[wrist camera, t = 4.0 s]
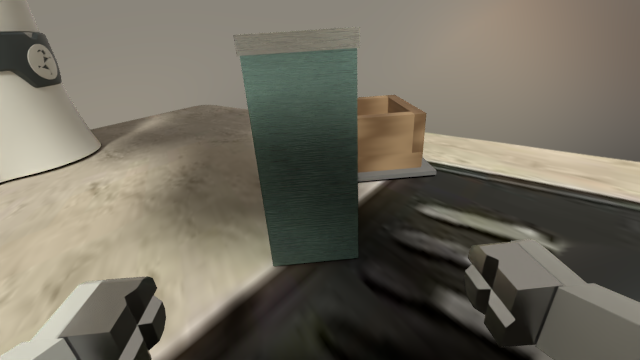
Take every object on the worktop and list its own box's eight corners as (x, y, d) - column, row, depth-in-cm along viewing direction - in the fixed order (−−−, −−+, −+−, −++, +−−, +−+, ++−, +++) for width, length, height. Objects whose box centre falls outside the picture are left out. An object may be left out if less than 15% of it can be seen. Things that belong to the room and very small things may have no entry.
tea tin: (271, 267, 18) (233, 35, 12) (276, 218, 22) (249, 35, 17) (360, 258, 18) (359, 27, 13) (346, 212, 23) (341, 29, 17)
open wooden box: (324, 175, 28) (321, 121, 26) (317, 143, 36) (314, 100, 34) (421, 167, 28) (426, 113, 26) (392, 137, 36) (394, 94, 34)
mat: (314, 185, 27) (313, 181, 27) (308, 145, 37) (308, 141, 37) (436, 174, 27) (436, 170, 27) (398, 137, 37) (398, 134, 37)
